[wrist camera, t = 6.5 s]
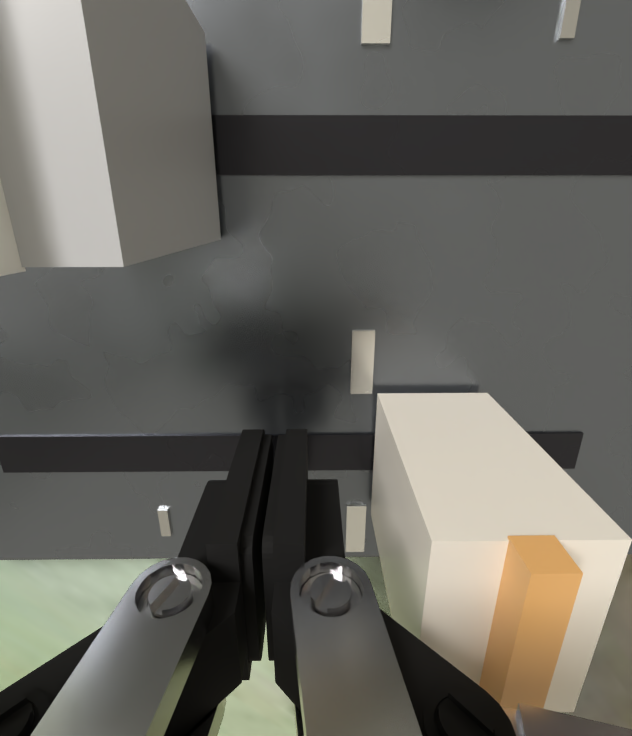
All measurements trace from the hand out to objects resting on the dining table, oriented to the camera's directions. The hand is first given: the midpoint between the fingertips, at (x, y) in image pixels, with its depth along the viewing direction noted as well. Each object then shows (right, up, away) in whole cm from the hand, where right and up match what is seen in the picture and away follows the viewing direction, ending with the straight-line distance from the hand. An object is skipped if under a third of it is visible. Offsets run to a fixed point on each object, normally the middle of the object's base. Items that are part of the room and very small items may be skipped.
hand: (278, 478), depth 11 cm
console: (0, +5, +2) cm, 5 cm away
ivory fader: (+4, 0, +1) cm, 4 cm away
